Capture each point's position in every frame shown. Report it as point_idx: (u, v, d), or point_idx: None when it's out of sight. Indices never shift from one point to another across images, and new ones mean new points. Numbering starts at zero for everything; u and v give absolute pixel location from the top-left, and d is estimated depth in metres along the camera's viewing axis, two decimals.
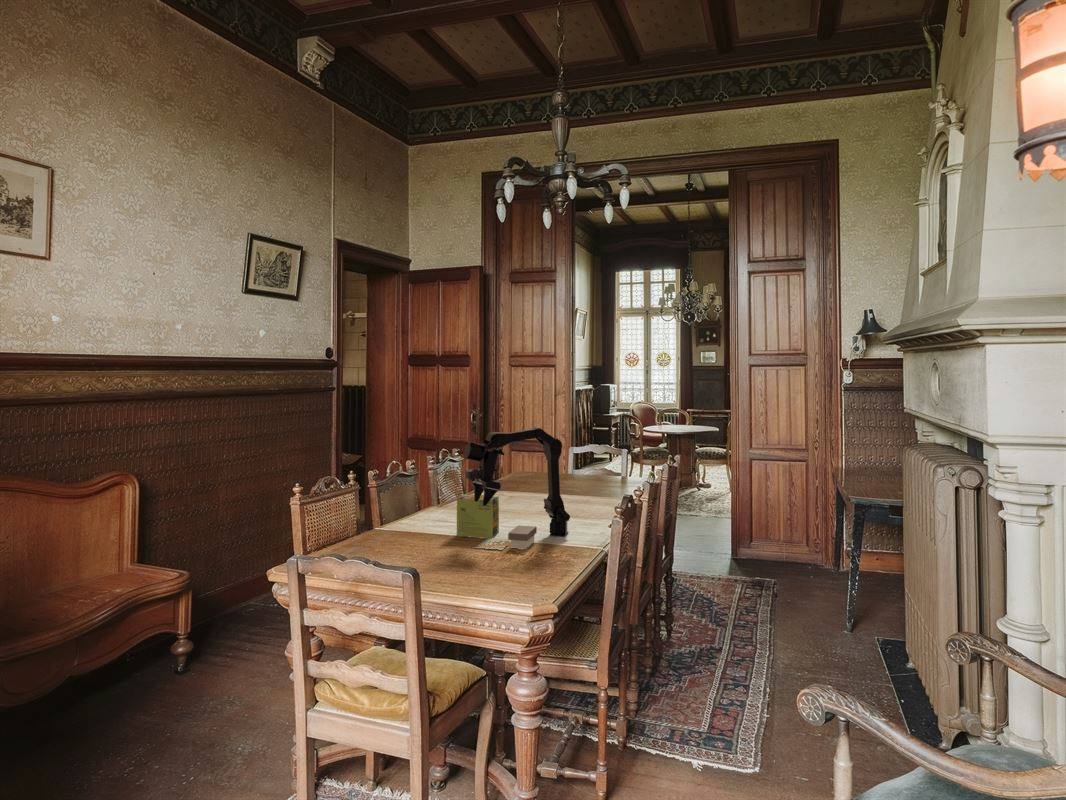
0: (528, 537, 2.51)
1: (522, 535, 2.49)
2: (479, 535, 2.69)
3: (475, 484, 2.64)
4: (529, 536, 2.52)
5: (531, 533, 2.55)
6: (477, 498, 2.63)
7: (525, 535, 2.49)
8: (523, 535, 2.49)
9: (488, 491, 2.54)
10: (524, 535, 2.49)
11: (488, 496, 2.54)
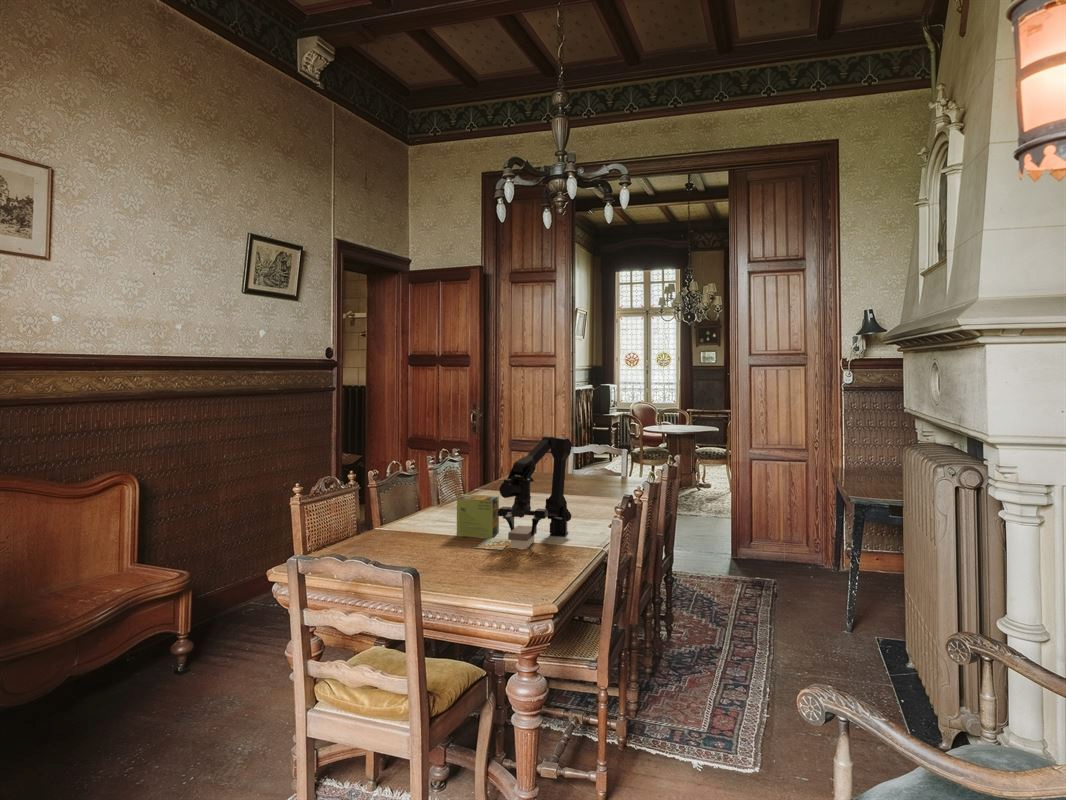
0: (528, 537, 2.51)
1: (522, 535, 2.49)
2: (479, 535, 2.69)
3: (510, 518, 2.56)
4: (529, 536, 2.52)
5: (531, 533, 2.55)
6: None
7: (525, 535, 2.49)
8: (523, 535, 2.49)
9: None
10: (524, 535, 2.49)
11: (535, 525, 2.55)
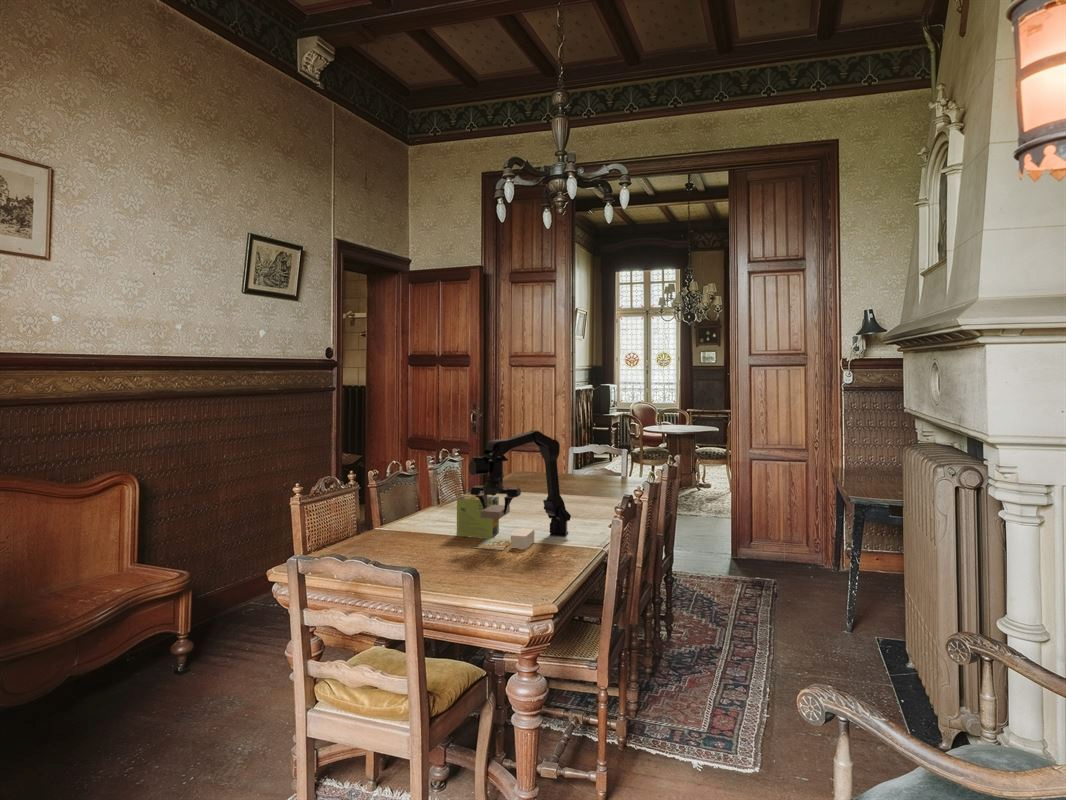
0: (500, 515, 2.51)
1: (494, 513, 2.50)
2: (479, 535, 2.69)
3: (483, 497, 2.56)
4: (501, 514, 2.52)
5: None
6: None
7: (497, 513, 2.50)
8: (495, 513, 2.50)
9: None
10: (496, 513, 2.50)
11: (508, 504, 2.56)
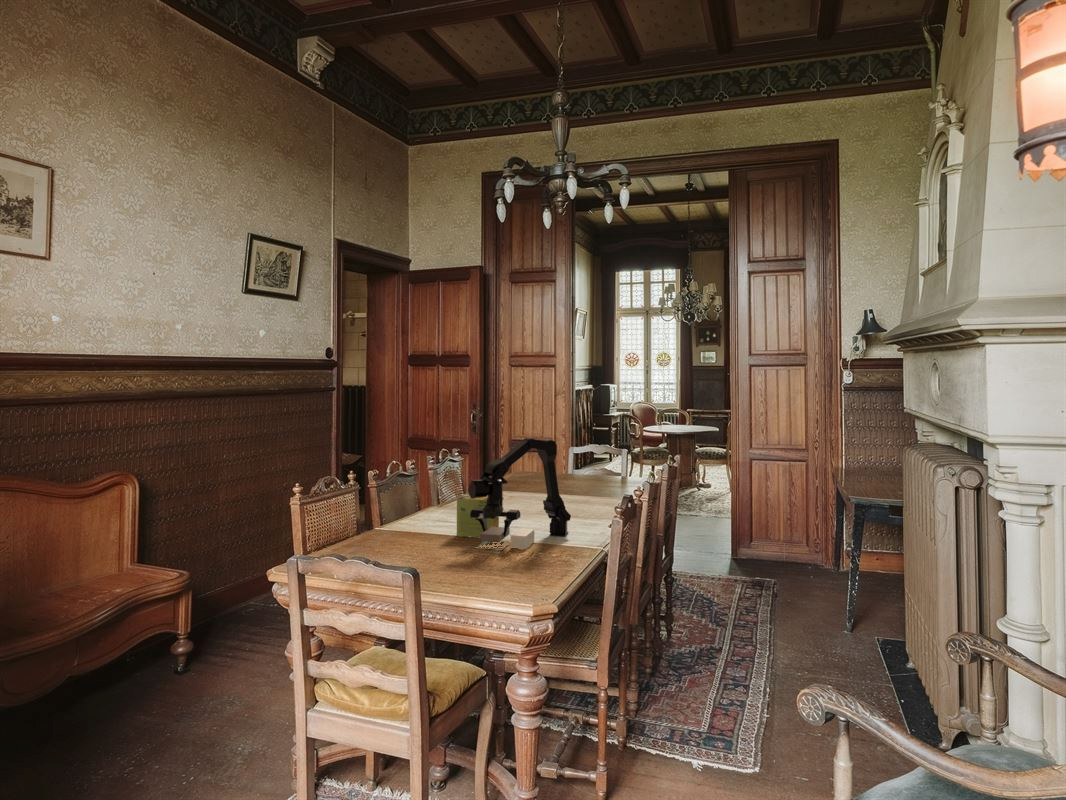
0: (500, 538, 2.51)
1: (494, 536, 2.50)
2: (479, 535, 2.69)
3: (483, 519, 2.57)
4: (501, 537, 2.53)
5: (503, 534, 2.56)
6: None
7: (497, 536, 2.50)
8: (495, 536, 2.50)
9: None
10: (496, 536, 2.50)
11: (508, 526, 2.56)
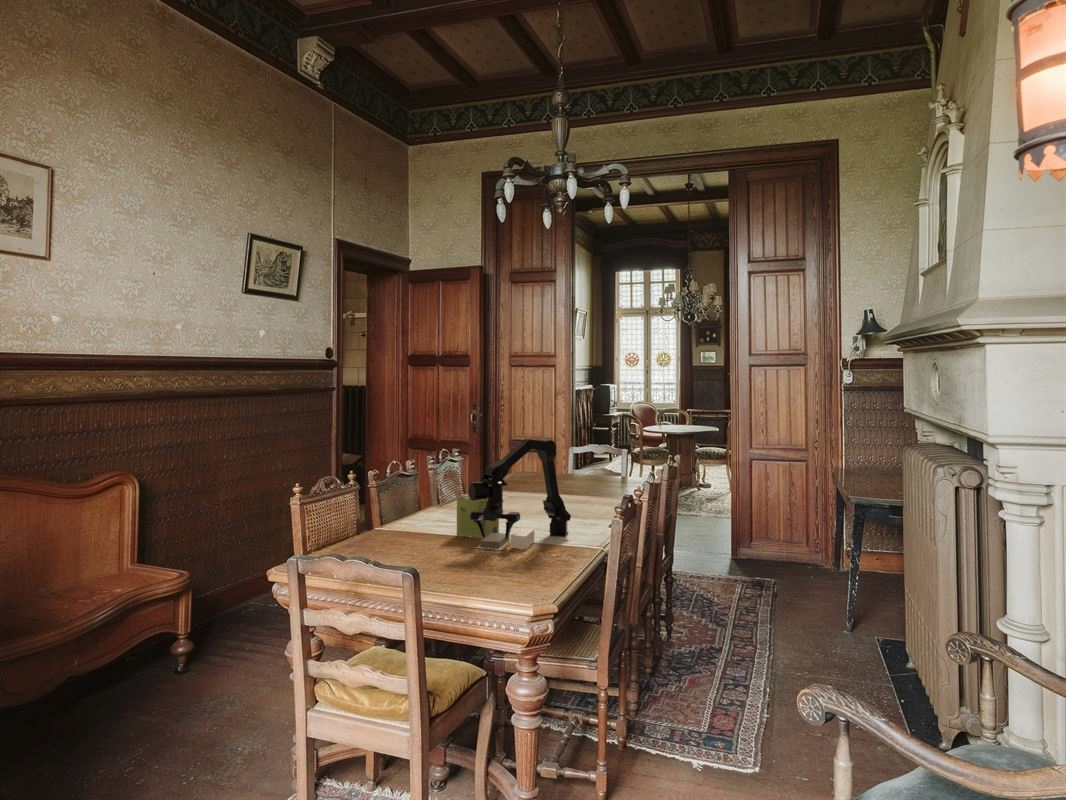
0: (500, 545, 2.52)
1: (494, 543, 2.50)
2: (479, 535, 2.69)
3: (481, 521, 2.57)
4: (501, 544, 2.53)
5: (503, 540, 2.56)
6: (484, 533, 2.59)
7: (497, 543, 2.50)
8: (495, 543, 2.50)
9: None
10: (496, 543, 2.50)
11: (509, 529, 2.56)
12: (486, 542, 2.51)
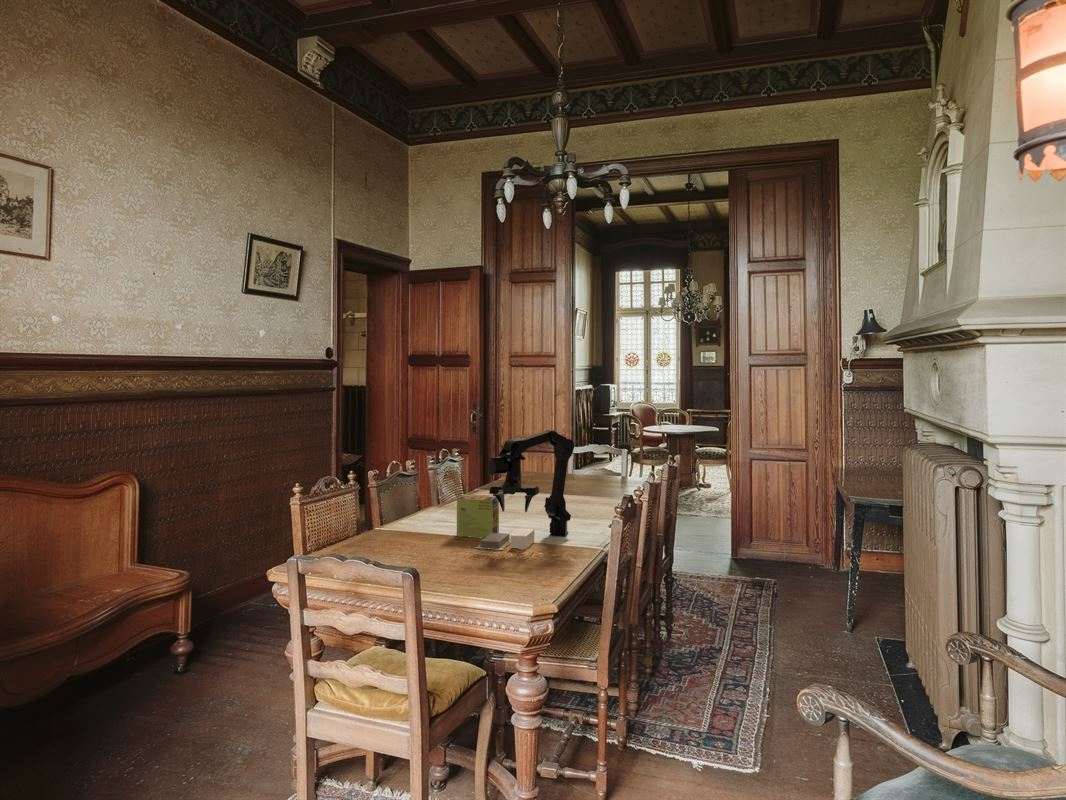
0: (500, 545, 2.52)
1: (494, 543, 2.50)
2: (479, 535, 2.69)
3: (500, 495, 2.60)
4: (501, 544, 2.53)
5: (503, 540, 2.56)
6: (504, 508, 2.62)
7: (497, 543, 2.50)
8: (495, 543, 2.50)
9: None
10: (496, 543, 2.50)
11: (528, 502, 2.60)
12: (486, 542, 2.51)
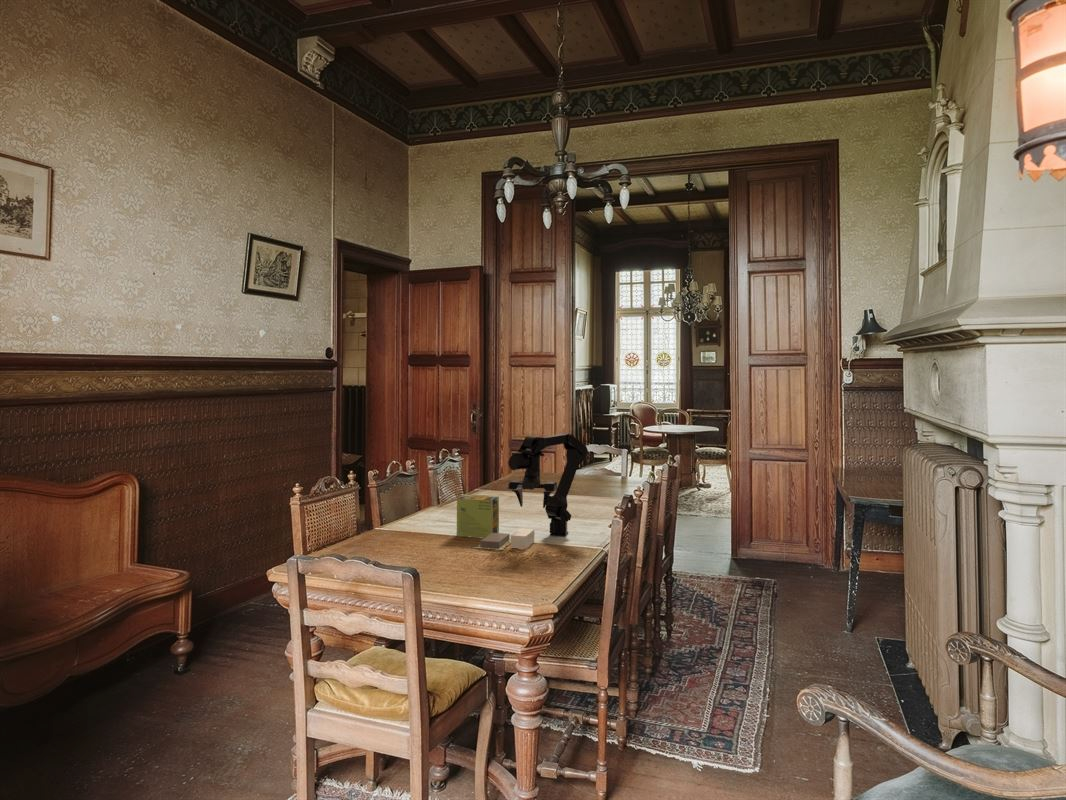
0: (500, 545, 2.52)
1: (494, 543, 2.50)
2: (479, 535, 2.69)
3: (519, 491, 2.64)
4: (501, 544, 2.53)
5: (503, 540, 2.56)
6: (522, 503, 2.66)
7: (497, 543, 2.50)
8: (495, 543, 2.50)
9: None
10: (496, 543, 2.50)
11: (547, 498, 2.63)
12: (486, 542, 2.51)
